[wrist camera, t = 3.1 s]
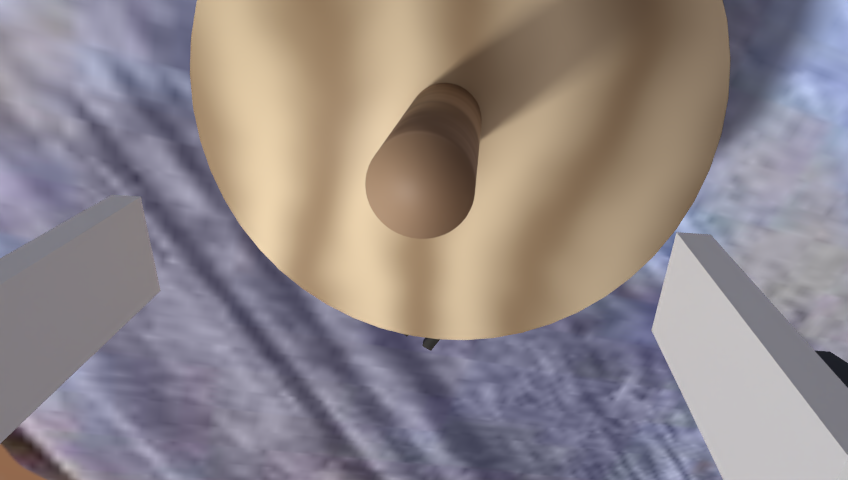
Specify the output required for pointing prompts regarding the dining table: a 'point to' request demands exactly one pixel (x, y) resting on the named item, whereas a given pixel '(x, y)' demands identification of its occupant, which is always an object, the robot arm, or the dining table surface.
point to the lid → (459, 147)
